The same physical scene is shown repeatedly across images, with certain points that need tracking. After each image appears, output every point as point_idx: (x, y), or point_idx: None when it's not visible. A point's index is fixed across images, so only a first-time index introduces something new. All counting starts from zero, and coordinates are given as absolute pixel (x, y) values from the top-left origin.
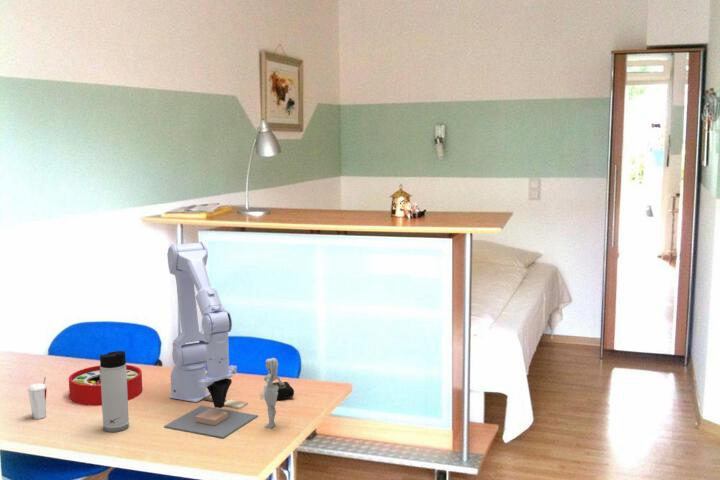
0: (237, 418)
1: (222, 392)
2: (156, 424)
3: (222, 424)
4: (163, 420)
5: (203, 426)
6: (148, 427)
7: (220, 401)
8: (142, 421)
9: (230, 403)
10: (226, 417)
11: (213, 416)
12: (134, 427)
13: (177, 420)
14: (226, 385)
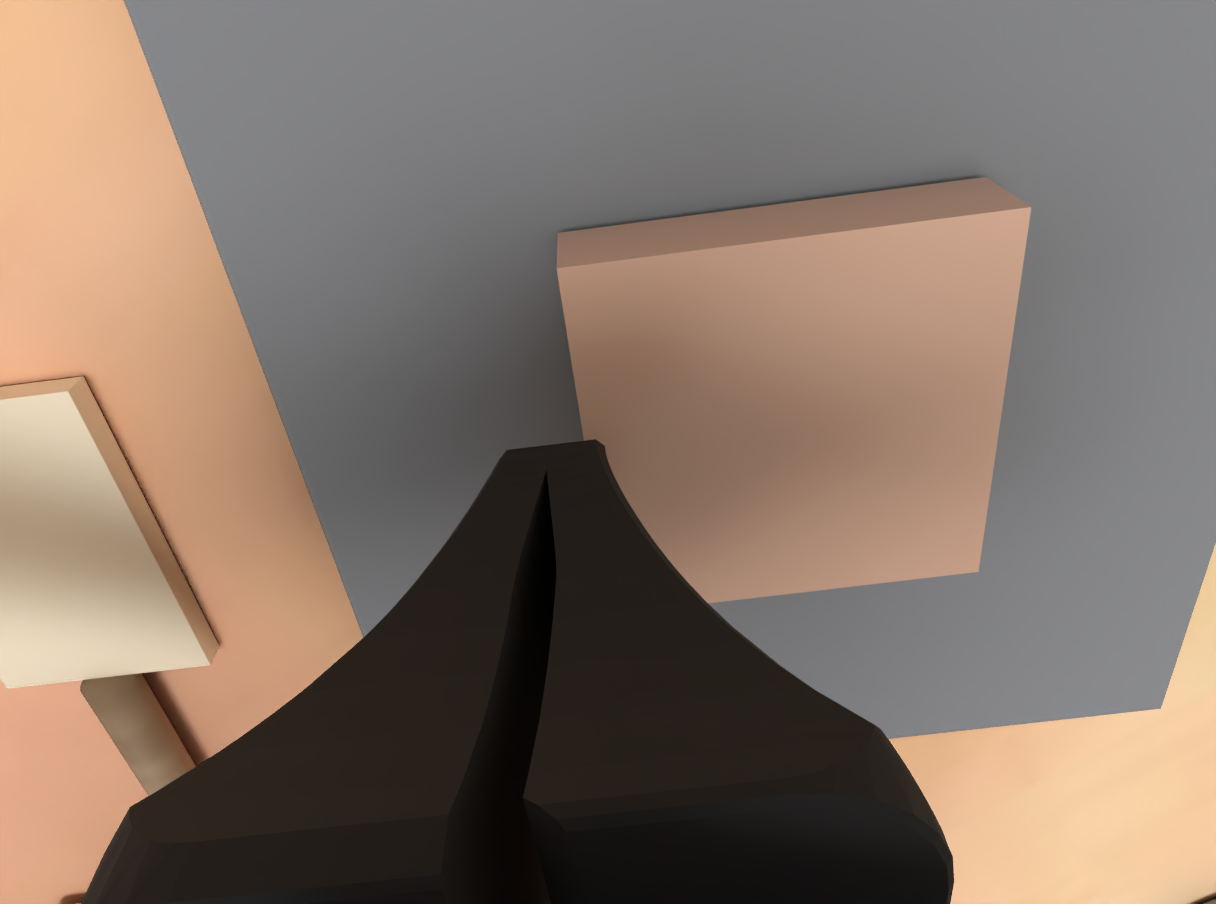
0: (477, 54)
1: (655, 629)
2: (1080, 788)
3: (869, 102)
4: (954, 804)
5: (1056, 324)
6: (1178, 791)
7: (629, 516)
8: (1041, 899)
9: (94, 591)
10: (618, 230)
11: (874, 351)
12: (1204, 864)
13: (956, 705)
14: (468, 776)
